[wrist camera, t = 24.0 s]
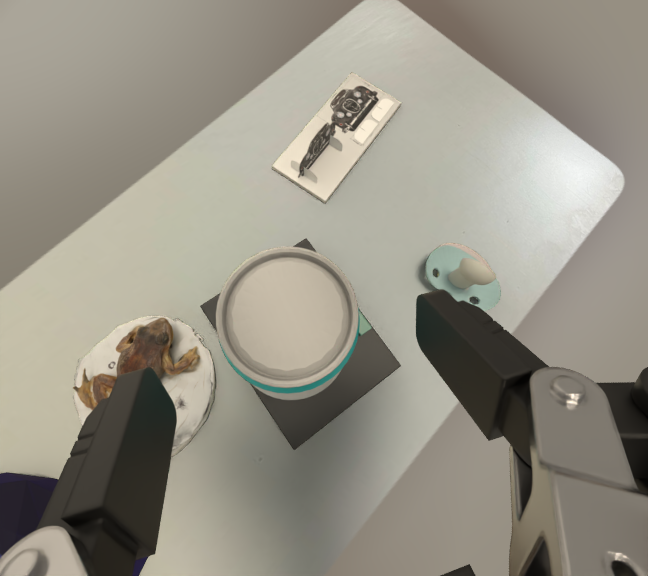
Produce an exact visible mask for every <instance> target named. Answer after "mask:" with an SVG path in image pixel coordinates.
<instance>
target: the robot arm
mask: <svg viewBox="0 0 648 576" xmlns="http://www.w3.org/2000/svg"><path fill="white" fill-rule="evenodd" d="M416 337H417V341H418V344H419V346H420V348H421V350H422V352H423V353H424V355H425V356H426V357H427V359H428V360H429V361H430V363H431V364H432V365H433V367H434V368H435V369H436V371H437V372H438V373H439V375H440V376H441V377H442V379H443V380H444V381H445V383H446V384H447V385H448V387H449V388H450V389H451V391H452V392H453V393H454V395H455V396H456V397H457V399H458V400H459V401H460V403H461V404H462V405H463V407H464V408H465V409H466V411H467V412H468V413H469V415H470V416H471V417H472V419H473V420H474V422H475V423H476V424H477V426H478V427H479V428H480V430H481V431H482V432H483V434H484V435H485V436H486V438H487V439H488V440H493V439H496V438H499V437H502V436H504V437H505V438H506V439H507V440H508V442H509V443H510V444H511V445H510V449H509V455H510V482H511V503H512V504H511V505H512V506H511V507H512V536H511V543H510V554H509V576H648V367H647V368H645V369H644V370H643V371H642V372H641V374H640V375H639V377H638V379H637V381H636V382H635V383H634V382H631V383H595V382H594V381H592V380H591V379H589V378H588V377H586V376H584V375H582V374H580V373H578V372H575V371H573V370H570V369H565V368H559V367H549V366H548V365H546V364H545V363H544V362H543V361H542V360H540V359H539V358H538V357H537V356H536V355H535V354H533V353H532V352H531V351H530V350H529V349H528V348H526V347H525V346H524V345H523V344H522V343H521V342H519V341H518V340H517V339H516V338H515V337H514V336H512V335H511V334H510V333H509V332H508V331H507V330H504V329H503V327H502V326H501V325H499V324H498V323H497V322H496V321H493V319H492V318H491V317H490V316H489V315H488V314H487V313H485V312H484V311H483V310H482V309H481V308H479V307H477V306H475V305H473V304H470V303H468V302H466V301H464V300H462V301H456V300H455V299H454V298H453V297H452V296H451V295H450V294H449V293H448V292H447V291H445V290H443V289H440V290H436V291H432V292H429V293H425V294H421V295H419V296H418V297H417V303H416ZM176 424H177V414H176V408H175V405H174V402H173V401H172V399H171V397H170V396H169V394H168V392H167V391H166V389H165V387H164V386H163V384H162V382H161V381H160V379H159V378H158V376H157V374H156V373H155V371H154V370H153V369H152V368H150V367H147V368H143V369H140V370H136V371H132V372H129V373H125V374H121V375H119V376H118V377H117V379H116V381H115V383H114V386H113V388H112V391H111V393H110V396H109V398H105V399H102V400H101V401H100V402H99V403H98V404H97V406H96V407H95V408H94V409H93V410H92V412H91V413H90V414H89V415H88V416H87V418H86V420H85V422H84V424H83V426H82V428H81V431H80V433H79V435H78V441H76V442H75V444H74V446H73V449H72V451H71V453H70V455H71V457H70V458H68V460H67V462H66V464H65V466H64V469H63V471H62V473H61V475H60V478H59V480H58V482H57V484H56V487H55V489H54V491H53V493H52V496H51V498H50V500H49V502H48V504H47V507H46V509H45V511H44V513H43V516H42V518H41V520H40V522H39V525H38V526H37V528H36V530H35V531H34V532H32V533H30V534H29V535H27V536H26V537H24V538H23V539H21V540H20V541H19V542H17V543H16V544H15V545H14V546H12V547H11V548H10V549H9V550H8V551H7V552H6V553H5V554H4V555H3V556H2V557H1V558H0V576H132V575H133V570H134V565H135V561H136V560H139V559H142V558H144V557H147V556H150V555H153V554H155V551H156V545H157V539H158V533H159V527H160V521H161V515H162V509H163V503H164V497H165V491H166V485H167V479H168V473H169V467H170V460H171V454H172V448H173V442H174V436H175V430H176ZM441 576H475V574H474V572H473V570H472V568H471V566H470V564H469V565H466V566H464V567H461V568H459V569H456V570H454V571H451V572H449V573H446V574H444V575H441Z"/></svg>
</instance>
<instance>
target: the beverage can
mask: <svg viewBox="0 0 648 576" xmlns="http://www.w3.org/2000/svg"><path fill="white" fill-rule="evenodd" d="M359 326H360V317H359V308H358V303H357V300H356V296H355V293H354V290H353V288H352V286H351V284H350V282H349V280H348V279H347V277H346V276H345V274H344V273H343V272H342V271H341V270H340V269H339V267H338V266H337V265H335V264H334V263H333V262H332V261H330V260H329V259H328V258H326V257H324V256H323V255H321V254H319V253H316V252H314V251H311V250H308V249H304V248H300V247H277V248H272V249H268V250H265V251H262V252H260V253H257V254H256V255H254V256H252V257H250V258H248V259H247V260H246V261H244V262H243V263H242V264H240V265H239V266H238V267H237V268H236V269H235V270H234V271H233V272H232V274H231V275H230V277H229V278H228V279H227V281H226V283H225V285H224V286H223V288H222V290H221V293H220V296H219V299H218V303H217V309H216V328H217V333H218V337H219V342H220V345H221V348H222V351H223V353H224V355H225V357H226V359H227V360H228V362H229V363H230V365H231V366H232V367H233V369H234V370H235V371H236V372H237V373H238V374H239V375H240V376H241V377H242V378H244V379H245V380H246V381H248V382H250V383H251V384H253V385H254V386H257V387H259V388H261V389H264V390H267V391H271V392H275V393H287V394H289V393H300V392H304V391H307V390H311V389H314V388H316V387H318V386H320V385H322V384H324V383H325V382H327V381H329V380H330V379H332V378H333V377H334V376H335V375H336V374H337V373H338V372H339V371H340V370H341V369H342V368H343V367H344V365H345V364H346V363H347V362H348V360H349V358H350V356H351V355H352V353H353V351H354V348H355V345H356V343H357V339H358V334H359Z"/></svg>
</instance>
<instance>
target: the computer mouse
mask: <svg viewBox="0 0 648 576" xmlns="http://www.w3.org/2000/svg"><path fill="white" fill-rule="evenodd" d="M57 482H58V480H57V479H54V478H46V477H37V476H29V475H21V474H13V473H2V474H0V558H1V557H2V556H3V555H4V554H5V553H6V552H7V551H8V550H9V549H10V548H11V547H12V546H14V545H15V544H16V543H17V542H19V541H20V540H21V539H23V538H24V537H26V536H27V535H29V534H30V533H32V532H34V531H35V530H36V528H37V526H38V525H39V522H40V520H41V518H42V516H43V513H44V511H45V509H46V507H47V504H48V502H49V500H50V498H51V496H52V493H53V491H54V489H55V487H56V484H57ZM147 558H148V556H147V557H144V558H142V559H139V560H136V561H135V565H134V570H133V575H132V576H139V574H140V572H141V570H142V568H143V566H144V564H145V562H146V560H147Z"/></svg>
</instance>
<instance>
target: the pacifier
mask: <svg viewBox="0 0 648 576" xmlns="http://www.w3.org/2000/svg"><path fill="white" fill-rule="evenodd" d="M433 269H436V270H437V271H438V274H437V276H438V277H434V276H433V273H432V271H433ZM425 272H426V277H427V279H428V281H429V283H430V284H431V285H432V286H433V287H434V288H436V289H438V290H440V289H443V290H445V291H447V292H448V293H449V294H450V295H451V296H452V297H453V298H454V299H455V300H456V301H462V300H464V301H466V302H468V303H470V304H472V303H471V302H470V300H469V299H470V297H475V298H477V299H478V304H476V305H475V304H473V305H475V306H477V307H479V308H481V309H482V310H483V311H486V310H489V309H491V308H493V307H494V306H495V305H496V304H497V303H498V301H499V300H500V296H501V290H500V285H499V282H498V281H497V279H496V275H495V273H494V272H493V271H492V270H491V268H490V266H489V265H488V263H487V262H486V261H485V260H484V259H483V258H482V257H481V256H480V255H479V254H478V253H476V252H475V251H473V250H472V249H470V248H468V247H466V246H463V245H461V244H456V243H445V244H443V245H440V246H439V247H438V248H437V249H435V250H434V251H433V252H432V253H431V254H430V255H429V257H428V259H427V262H426V267H425Z"/></svg>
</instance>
